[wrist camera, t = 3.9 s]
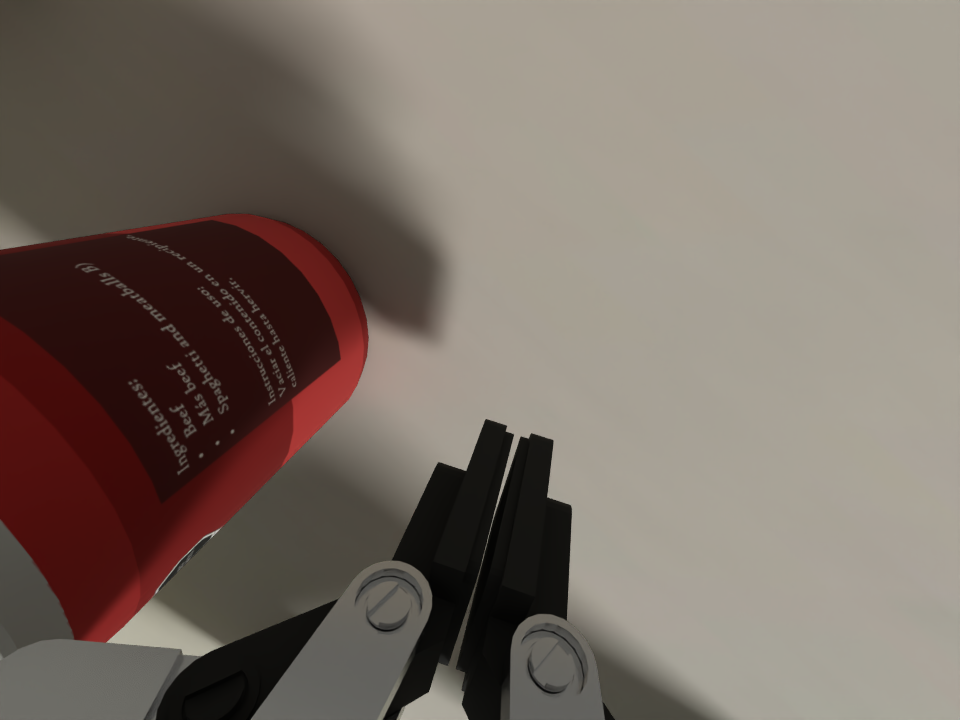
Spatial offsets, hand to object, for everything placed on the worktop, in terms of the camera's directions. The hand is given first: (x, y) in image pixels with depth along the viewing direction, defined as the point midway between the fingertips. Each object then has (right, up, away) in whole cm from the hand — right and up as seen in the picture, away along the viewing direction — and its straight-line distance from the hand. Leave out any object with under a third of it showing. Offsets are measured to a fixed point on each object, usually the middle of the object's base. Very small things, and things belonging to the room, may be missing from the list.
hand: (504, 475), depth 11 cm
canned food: (-8, +4, +6) cm, 11 cm away
